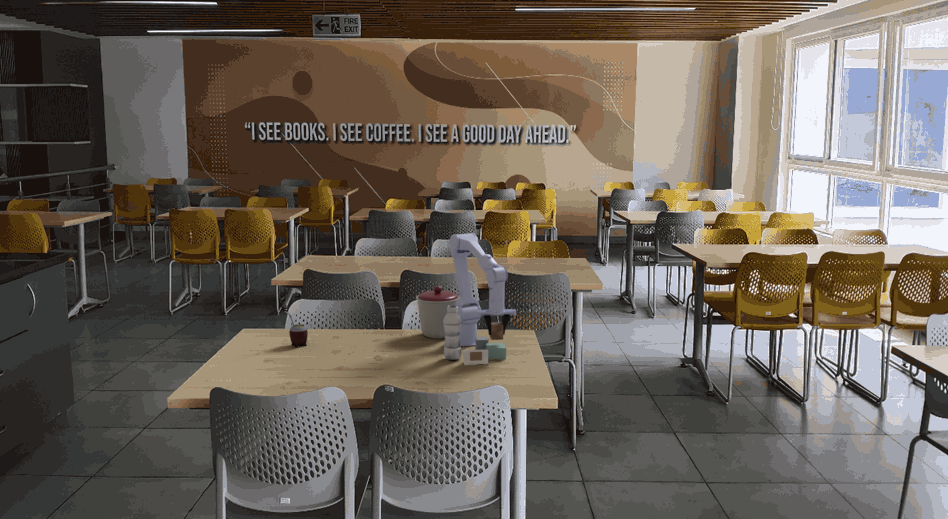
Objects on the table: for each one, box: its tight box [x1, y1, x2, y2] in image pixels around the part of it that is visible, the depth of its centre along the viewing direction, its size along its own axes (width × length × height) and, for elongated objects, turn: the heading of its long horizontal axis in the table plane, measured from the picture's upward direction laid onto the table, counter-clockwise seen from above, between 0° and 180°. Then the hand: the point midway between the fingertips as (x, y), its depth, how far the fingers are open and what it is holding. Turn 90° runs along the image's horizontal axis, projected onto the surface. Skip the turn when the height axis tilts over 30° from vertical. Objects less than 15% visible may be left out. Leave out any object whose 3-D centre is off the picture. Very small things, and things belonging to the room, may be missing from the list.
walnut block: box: [489, 321, 504, 341], centre depth 267 cm, size 4×4×6 cm
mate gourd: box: [284, 310, 309, 349], centre depth 280 cm, size 8×8×15 cm
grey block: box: [474, 336, 489, 350], centre depth 273 cm, size 4×4×6 cm
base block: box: [486, 342, 507, 360], centre depth 267 cm, size 7×7×4 cm
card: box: [462, 349, 489, 366], centre depth 259 cm, size 9×3×5 cm, turn 97°
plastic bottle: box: [443, 306, 463, 361], centre depth 263 cm, size 6×7×20 cm
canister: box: [415, 285, 459, 339], centre depth 295 cm, size 18×18×21 cm
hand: (496, 334), depth 267 cm, fingers closed on walnut block, 4 cm apart
